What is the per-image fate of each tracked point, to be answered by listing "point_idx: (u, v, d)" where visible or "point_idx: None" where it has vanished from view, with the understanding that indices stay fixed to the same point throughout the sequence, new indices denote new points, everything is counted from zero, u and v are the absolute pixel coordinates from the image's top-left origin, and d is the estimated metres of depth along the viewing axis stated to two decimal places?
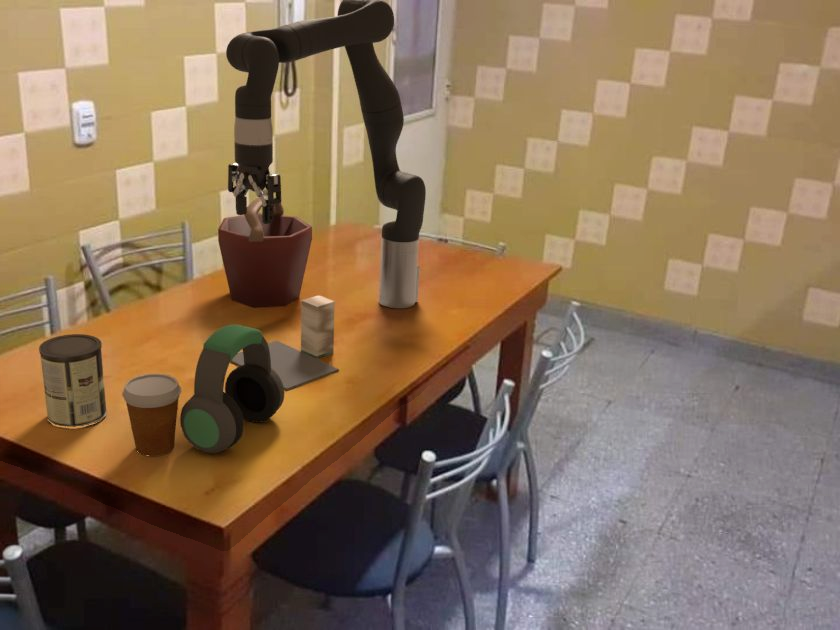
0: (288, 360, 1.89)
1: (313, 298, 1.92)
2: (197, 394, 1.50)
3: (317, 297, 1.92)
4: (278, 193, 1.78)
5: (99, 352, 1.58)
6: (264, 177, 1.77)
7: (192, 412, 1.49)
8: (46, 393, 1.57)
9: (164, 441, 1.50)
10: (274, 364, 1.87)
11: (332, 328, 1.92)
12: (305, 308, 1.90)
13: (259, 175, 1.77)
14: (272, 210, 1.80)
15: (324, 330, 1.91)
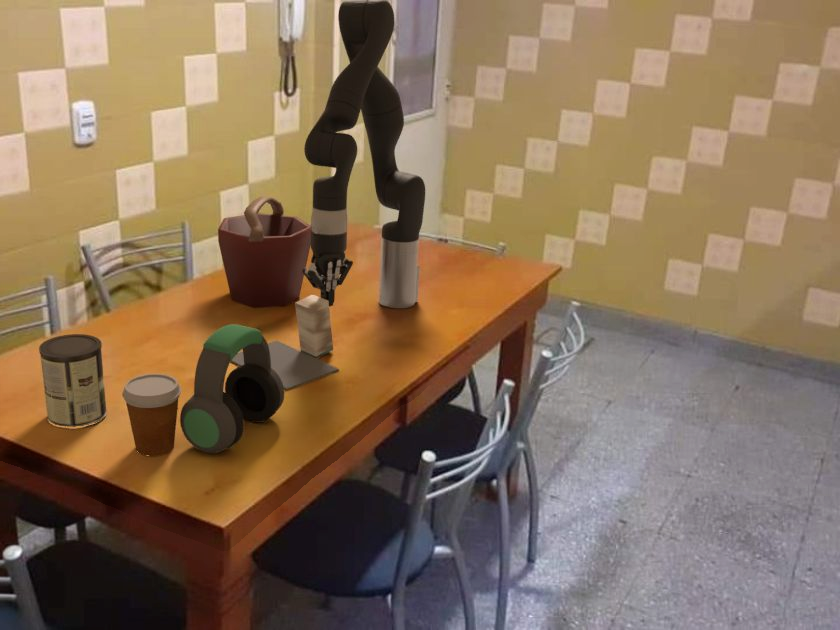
0: (288, 360, 1.89)
1: (307, 299, 1.90)
2: (197, 394, 1.50)
3: (311, 297, 1.91)
4: None
5: (99, 352, 1.58)
6: None
7: (192, 412, 1.49)
8: (46, 393, 1.57)
9: (164, 441, 1.50)
10: (274, 364, 1.87)
11: (329, 326, 1.92)
12: (299, 310, 1.89)
13: (342, 256, 1.91)
14: None
15: (320, 330, 1.90)
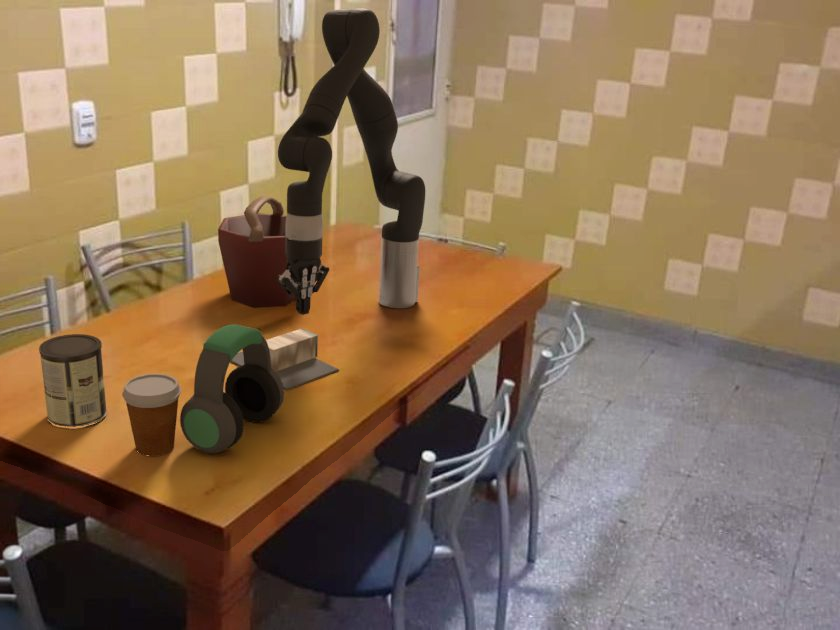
0: None
1: None
2: (197, 394, 1.50)
3: None
4: (314, 281, 1.89)
5: (99, 352, 1.58)
6: None
7: (192, 413, 1.49)
8: (46, 393, 1.57)
9: (164, 441, 1.50)
10: None
11: (296, 344, 1.86)
12: None
13: (318, 262, 1.86)
14: None
15: (295, 355, 1.86)
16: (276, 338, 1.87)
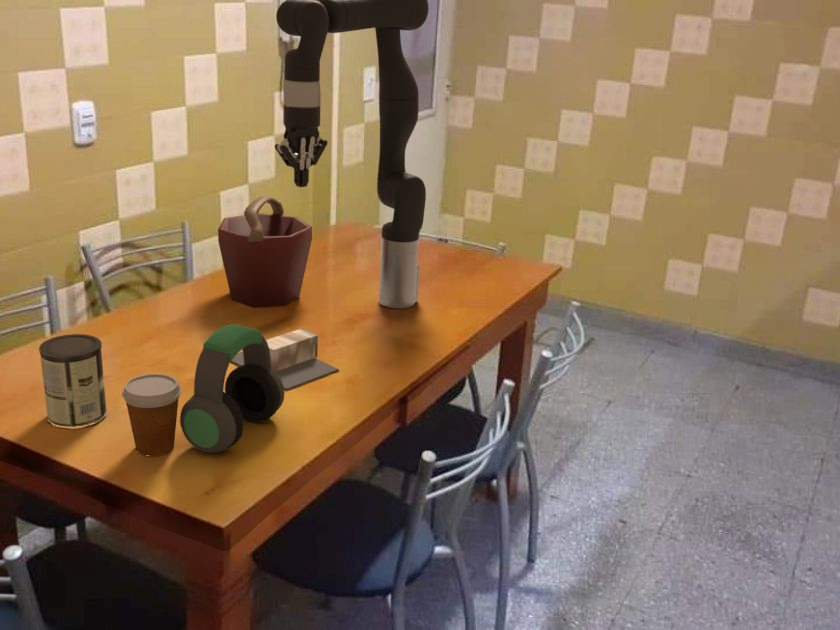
0: None
1: None
2: (197, 394, 1.50)
3: None
4: (312, 155, 1.89)
5: (99, 352, 1.58)
6: None
7: (192, 412, 1.49)
8: (46, 393, 1.57)
9: (164, 441, 1.50)
10: None
11: (296, 344, 1.86)
12: None
13: (316, 134, 1.86)
14: None
15: (295, 355, 1.86)
16: (276, 338, 1.87)
